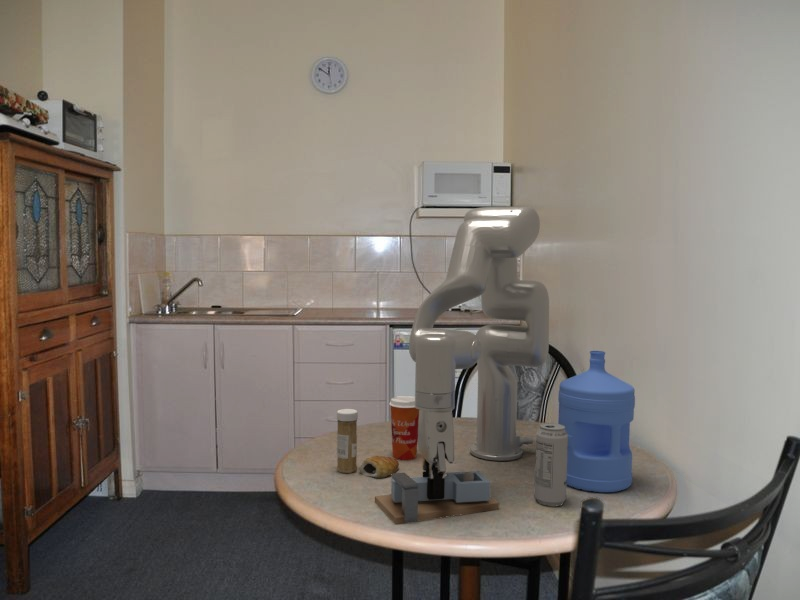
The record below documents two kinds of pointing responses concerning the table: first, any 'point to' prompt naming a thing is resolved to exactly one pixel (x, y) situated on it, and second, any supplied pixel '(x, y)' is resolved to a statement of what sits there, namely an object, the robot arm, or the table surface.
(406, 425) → the paper cup
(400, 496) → the link
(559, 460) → the energy drink can
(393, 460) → the pastry
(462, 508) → the board
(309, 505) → the table surface
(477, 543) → the table surface
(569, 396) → the water jug
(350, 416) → the sprinkles bottle
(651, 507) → the table surface
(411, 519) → the keeper
